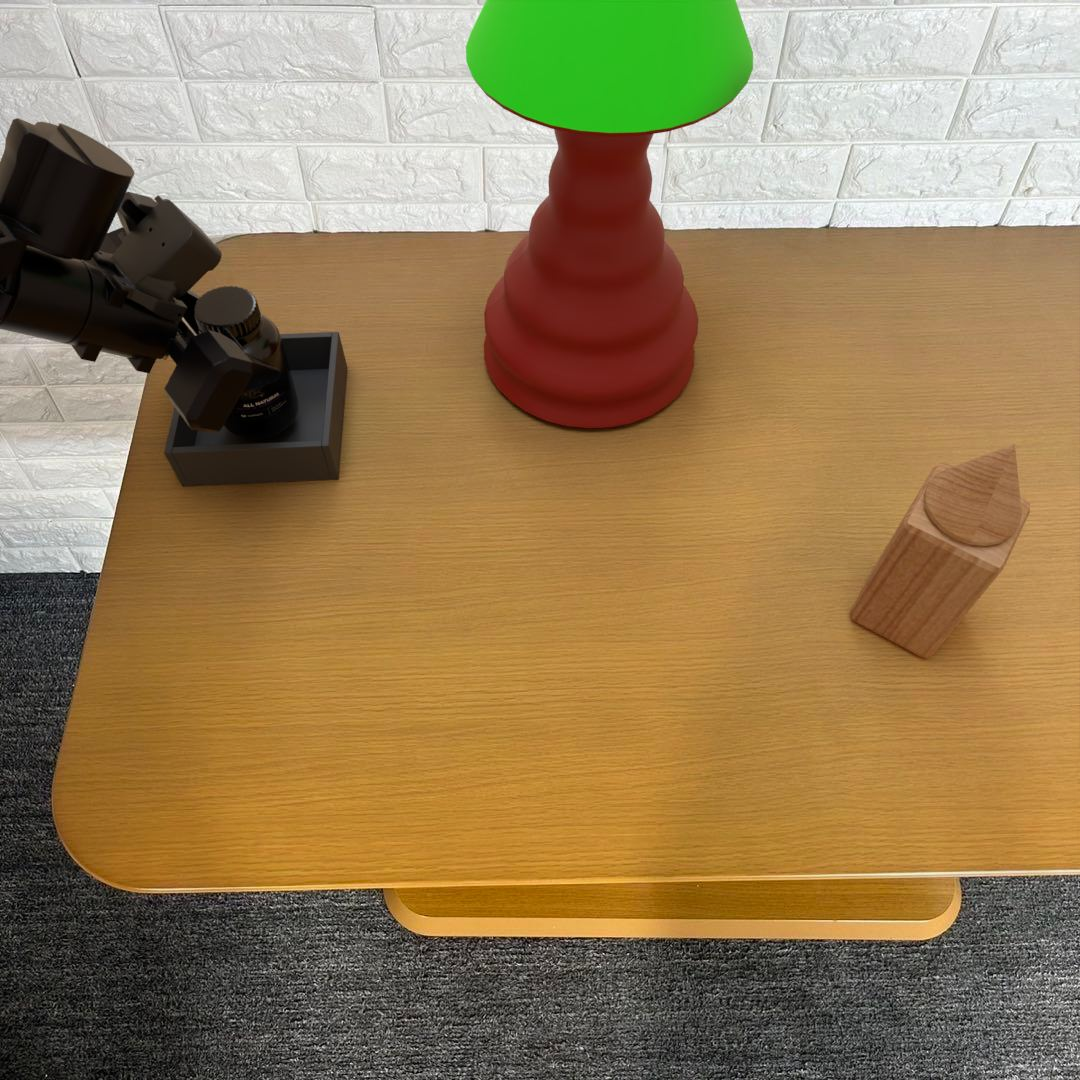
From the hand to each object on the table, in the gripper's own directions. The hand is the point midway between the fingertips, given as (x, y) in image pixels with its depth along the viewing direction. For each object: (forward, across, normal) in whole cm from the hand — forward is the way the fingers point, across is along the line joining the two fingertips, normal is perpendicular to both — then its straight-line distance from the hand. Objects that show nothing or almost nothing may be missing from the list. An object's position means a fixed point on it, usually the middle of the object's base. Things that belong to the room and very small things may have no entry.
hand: (256, 350), depth 73 cm
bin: (+5, 0, +7) cm, 8 cm away
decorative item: (+26, -47, -14) cm, 56 cm away
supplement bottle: (+4, 0, +6) cm, 7 cm away
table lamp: (+25, -11, -13) cm, 30 cm away
